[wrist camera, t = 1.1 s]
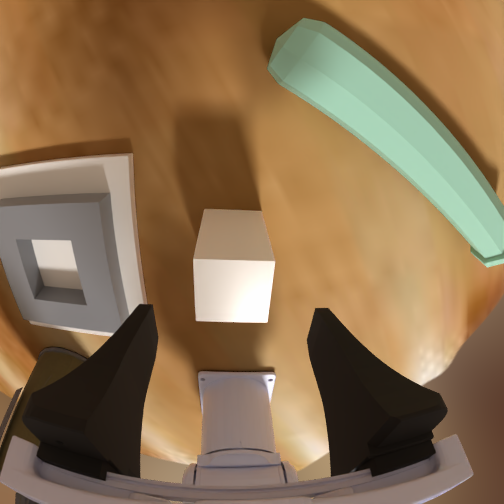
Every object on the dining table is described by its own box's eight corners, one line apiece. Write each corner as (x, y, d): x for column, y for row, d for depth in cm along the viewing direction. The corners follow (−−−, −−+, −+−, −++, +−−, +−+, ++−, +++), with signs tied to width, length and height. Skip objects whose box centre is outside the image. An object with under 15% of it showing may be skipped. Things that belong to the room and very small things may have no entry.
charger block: (257, 260, 23) (267, 322, 16) (204, 258, 22) (195, 320, 16) (261, 210, 21) (275, 261, 15) (204, 208, 20) (193, 259, 14)
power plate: (152, 332, 25) (146, 356, 23) (34, 317, 24) (22, 336, 22) (133, 153, 18) (117, 162, 15) (-6, 168, 17) (-28, 179, 14)
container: (269, 46, 11) (511, 273, 18) (316, -14, 11) (525, 213, 17) (241, 91, 16) (464, 262, 23) (281, 34, 16) (480, 210, 23)
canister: (129, 391, 30) (103, 544, 13) (84, 405, 32) (54, 527, 14) (61, 332, 25) (-5, 499, 8) (25, 356, 27) (-28, 482, 10)
